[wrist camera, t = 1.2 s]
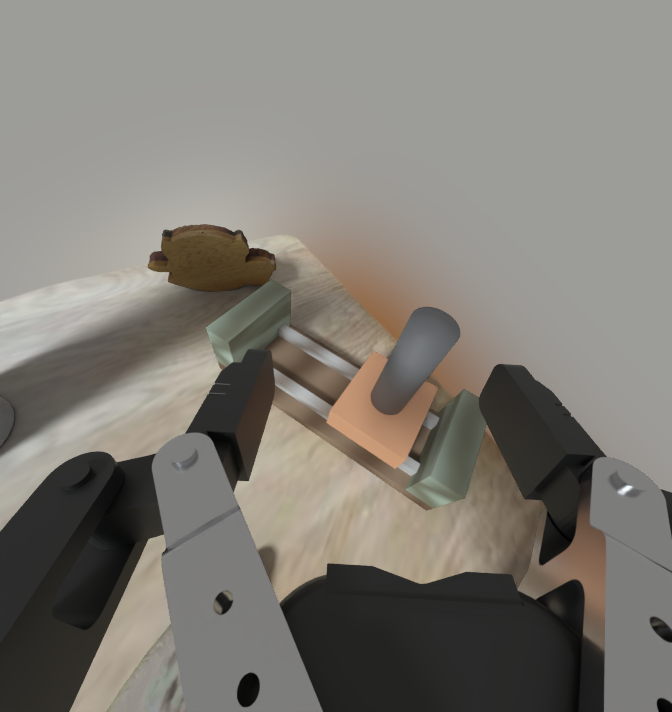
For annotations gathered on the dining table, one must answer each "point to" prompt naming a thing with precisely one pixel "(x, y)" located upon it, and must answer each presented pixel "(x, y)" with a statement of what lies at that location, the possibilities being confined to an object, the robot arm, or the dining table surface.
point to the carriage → (396, 388)
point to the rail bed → (327, 383)
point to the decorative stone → (153, 681)
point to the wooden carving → (211, 259)
